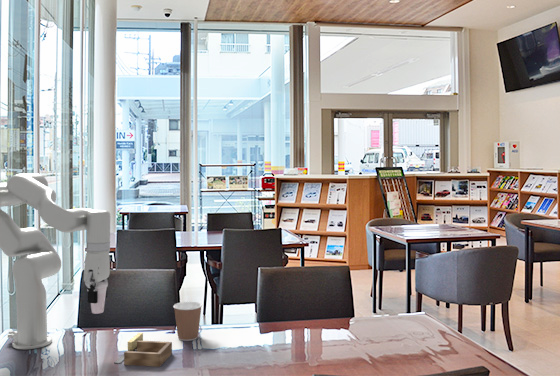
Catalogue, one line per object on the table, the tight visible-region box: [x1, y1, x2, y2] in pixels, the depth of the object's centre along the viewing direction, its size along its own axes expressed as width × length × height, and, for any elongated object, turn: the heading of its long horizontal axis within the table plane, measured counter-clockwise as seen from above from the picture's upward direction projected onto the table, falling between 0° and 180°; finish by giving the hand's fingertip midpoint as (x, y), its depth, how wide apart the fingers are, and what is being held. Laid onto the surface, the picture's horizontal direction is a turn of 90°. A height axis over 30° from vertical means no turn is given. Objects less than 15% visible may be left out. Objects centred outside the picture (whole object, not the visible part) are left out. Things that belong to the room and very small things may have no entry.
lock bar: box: [127, 332, 144, 351], centre depth 185 cm, size 2×10×3 cm, turn 173°
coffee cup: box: [172, 301, 203, 342], centre depth 196 cm, size 10×10×12 cm
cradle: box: [113, 340, 173, 368], centre depth 179 cm, size 15×20×4 cm
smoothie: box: [90, 282, 109, 315], centre depth 181 cm, size 6×6×14 cm
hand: (97, 299), depth 181 cm, fingers closed on smoothie, 6 cm apart
